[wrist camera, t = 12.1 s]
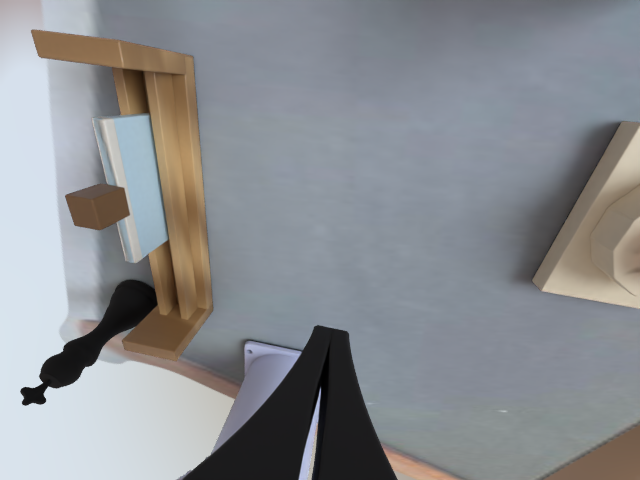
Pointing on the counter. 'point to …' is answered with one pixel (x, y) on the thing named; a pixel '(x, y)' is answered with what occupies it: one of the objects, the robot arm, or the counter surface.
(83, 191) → the pane
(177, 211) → the window frame
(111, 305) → the chess piece
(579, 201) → the switch block
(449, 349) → the counter surface
